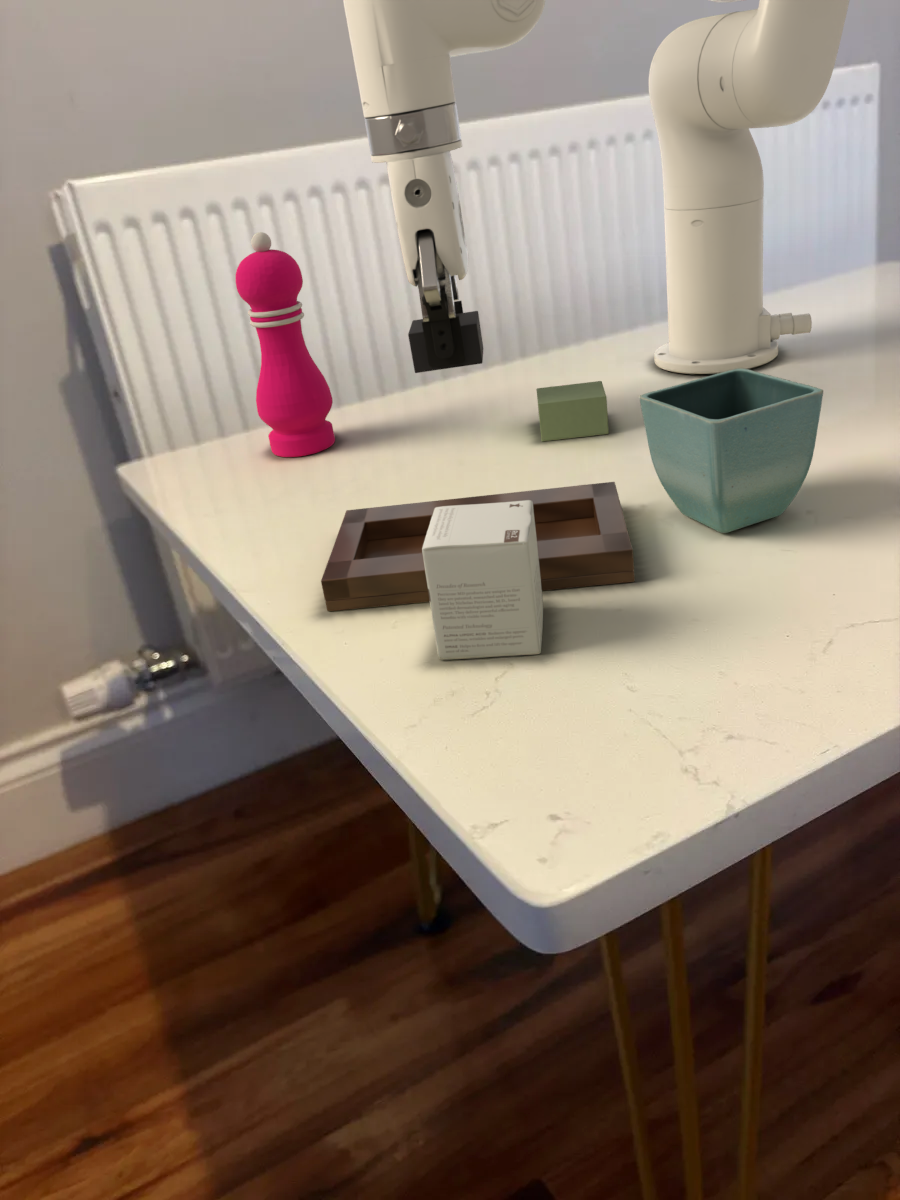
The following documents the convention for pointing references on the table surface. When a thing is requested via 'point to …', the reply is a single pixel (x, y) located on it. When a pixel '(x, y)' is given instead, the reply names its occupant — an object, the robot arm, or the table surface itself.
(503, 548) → the product carton
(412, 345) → the black block
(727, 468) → the flower pot
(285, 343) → the pepper mill
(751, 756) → the table surface
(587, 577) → the wooden tray
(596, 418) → the green rectangular block
